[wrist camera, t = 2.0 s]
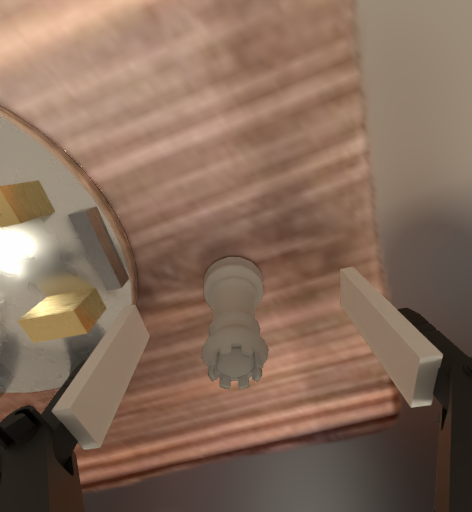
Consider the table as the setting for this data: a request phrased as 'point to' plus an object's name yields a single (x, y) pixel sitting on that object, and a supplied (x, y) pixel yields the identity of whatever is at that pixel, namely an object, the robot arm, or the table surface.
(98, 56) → the table surface
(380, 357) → the robot arm
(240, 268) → the rook chess piece
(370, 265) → the table surface
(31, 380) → the carrier plate
